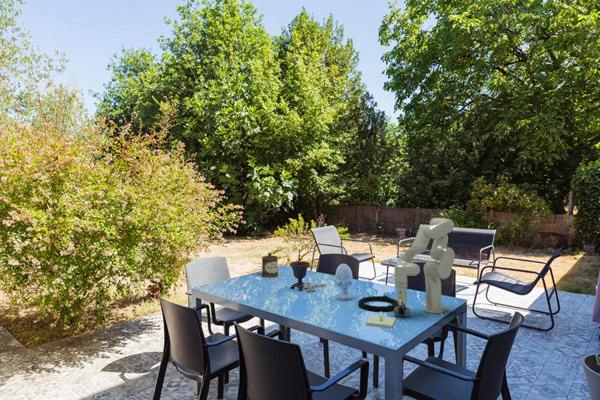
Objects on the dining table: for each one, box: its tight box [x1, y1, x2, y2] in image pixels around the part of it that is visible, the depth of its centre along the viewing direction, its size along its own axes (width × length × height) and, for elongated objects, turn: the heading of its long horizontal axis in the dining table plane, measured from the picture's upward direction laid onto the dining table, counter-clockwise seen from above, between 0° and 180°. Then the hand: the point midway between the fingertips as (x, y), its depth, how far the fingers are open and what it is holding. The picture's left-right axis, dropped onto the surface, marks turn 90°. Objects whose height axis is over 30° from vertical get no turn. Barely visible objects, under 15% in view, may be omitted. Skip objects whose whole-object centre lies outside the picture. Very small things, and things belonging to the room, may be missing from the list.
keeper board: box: [365, 312, 397, 329], centre depth 221 cm, size 15×14×6 cm
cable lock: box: [357, 294, 399, 313], centre depth 255 cm, size 28×4×30 cm
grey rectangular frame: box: [393, 306, 411, 317], centre depth 232 cm, size 9×6×4 cm, turn 68°
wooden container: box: [261, 252, 279, 279], centre depth 353 cm, size 15×15×22 cm
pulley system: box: [302, 282, 327, 293], centre depth 305 cm, size 27×5×15 cm
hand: (402, 312), depth 232 cm, fingers closed on grey rectangular frame, 6 cm apart
